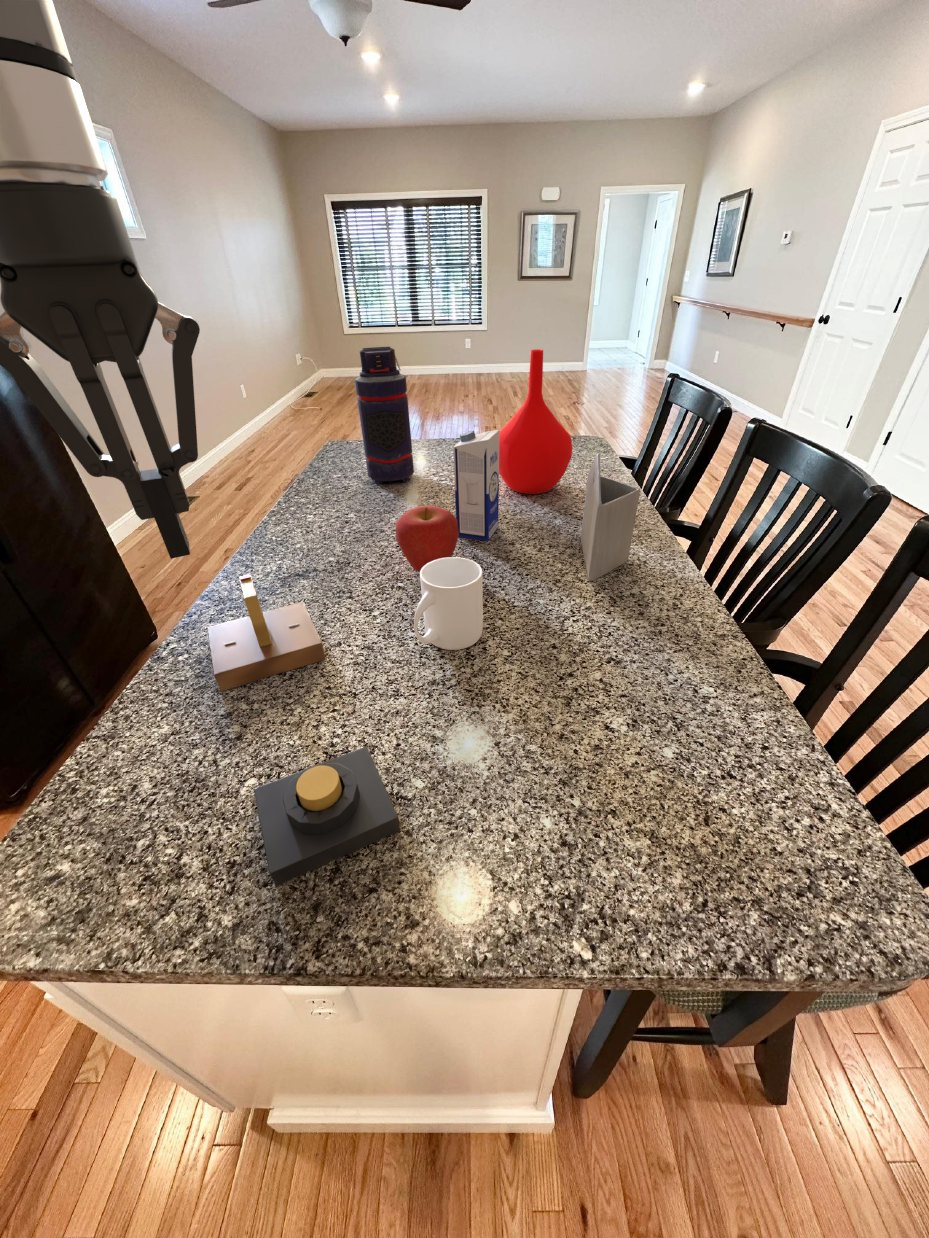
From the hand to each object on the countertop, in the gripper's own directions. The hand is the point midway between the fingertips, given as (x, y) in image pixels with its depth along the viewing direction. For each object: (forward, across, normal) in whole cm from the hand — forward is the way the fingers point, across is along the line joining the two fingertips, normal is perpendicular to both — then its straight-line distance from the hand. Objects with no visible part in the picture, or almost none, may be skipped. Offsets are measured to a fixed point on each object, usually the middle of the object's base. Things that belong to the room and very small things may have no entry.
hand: (179, 549), depth 43 cm
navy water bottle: (+27, -45, -81) cm, 96 cm away
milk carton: (+27, -49, -40) cm, 69 cm away
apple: (+27, -34, -30) cm, 53 cm away
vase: (+27, -72, -56) cm, 95 cm away
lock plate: (+26, -4, -20) cm, 33 cm away
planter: (+27, -64, -18) cm, 72 cm away
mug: (+27, -28, -10) cm, 40 cm away
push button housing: (+26, -5, +11) cm, 29 cm away
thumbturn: (+23, -4, -20) cm, 31 cm away
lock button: (+23, -5, +11) cm, 26 cm away
